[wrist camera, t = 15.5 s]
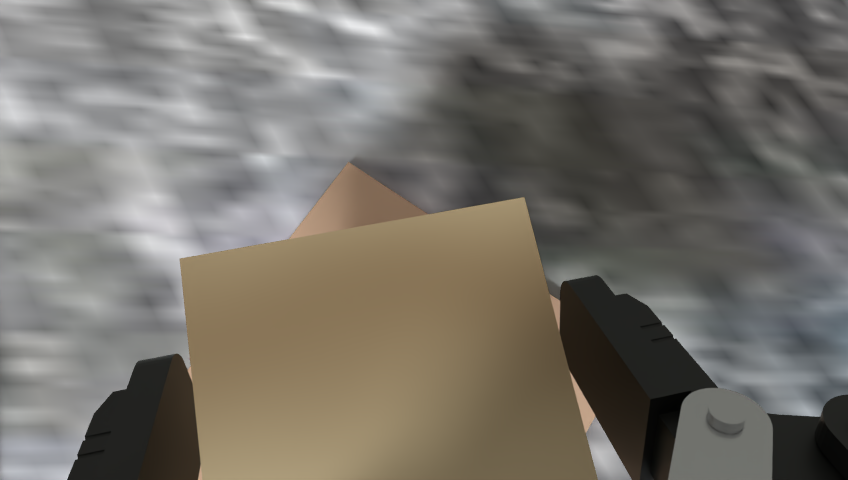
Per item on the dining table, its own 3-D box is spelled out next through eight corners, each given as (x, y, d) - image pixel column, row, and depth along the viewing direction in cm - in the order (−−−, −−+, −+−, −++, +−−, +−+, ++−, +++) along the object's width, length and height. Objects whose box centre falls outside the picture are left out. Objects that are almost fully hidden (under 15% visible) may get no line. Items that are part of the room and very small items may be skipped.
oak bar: (480, 464, 19) (619, 562, 8) (326, 499, 19) (221, 661, 7) (447, 312, 20) (523, 197, 9) (302, 341, 20) (180, 258, 8)
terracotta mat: (440, 683, 18) (441, 691, 17) (131, 450, 19) (124, 451, 19) (627, 350, 21) (633, 348, 20) (349, 167, 22) (348, 161, 22)
